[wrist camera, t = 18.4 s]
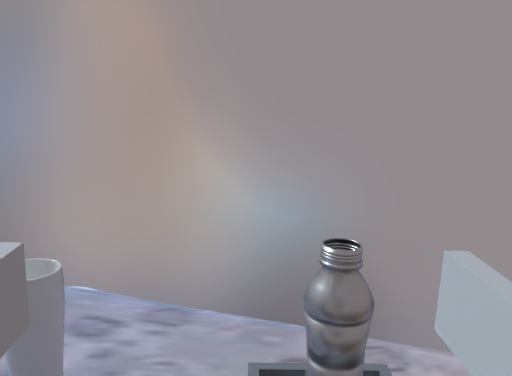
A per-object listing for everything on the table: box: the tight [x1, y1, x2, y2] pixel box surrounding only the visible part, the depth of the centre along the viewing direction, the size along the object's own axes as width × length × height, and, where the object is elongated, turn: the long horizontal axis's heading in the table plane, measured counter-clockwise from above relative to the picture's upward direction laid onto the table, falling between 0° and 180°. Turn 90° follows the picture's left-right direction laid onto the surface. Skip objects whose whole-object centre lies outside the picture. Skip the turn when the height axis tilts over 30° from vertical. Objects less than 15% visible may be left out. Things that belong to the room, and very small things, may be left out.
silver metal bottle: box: [303, 238, 374, 376], centre depth 42 cm, size 6×7×20 cm
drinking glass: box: [5, 258, 65, 376], centre depth 50 cm, size 7×7×15 cm
